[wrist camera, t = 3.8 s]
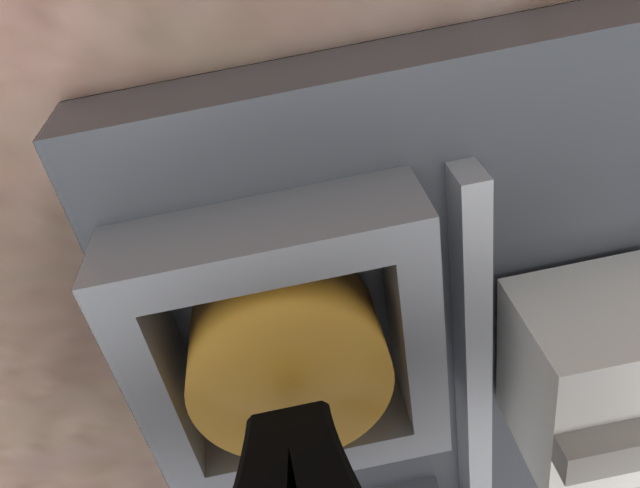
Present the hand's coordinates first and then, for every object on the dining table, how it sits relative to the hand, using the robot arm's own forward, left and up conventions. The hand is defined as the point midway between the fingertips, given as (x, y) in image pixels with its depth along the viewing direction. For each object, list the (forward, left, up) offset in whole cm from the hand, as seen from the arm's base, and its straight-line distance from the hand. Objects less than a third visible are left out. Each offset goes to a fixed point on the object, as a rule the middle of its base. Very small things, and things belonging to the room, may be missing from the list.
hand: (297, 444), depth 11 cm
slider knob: (-2, -7, -3) cm, 7 cm away
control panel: (-5, -4, -5) cm, 8 cm away
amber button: (0, 0, -3) cm, 3 cm away
